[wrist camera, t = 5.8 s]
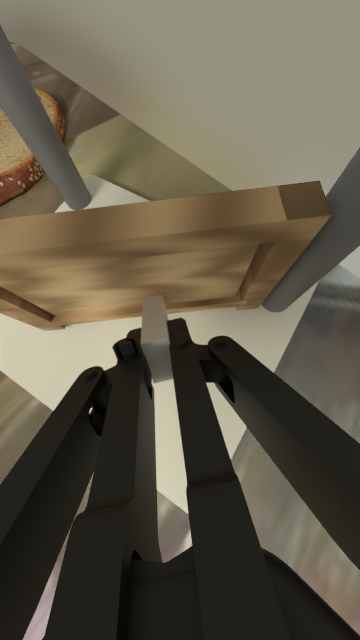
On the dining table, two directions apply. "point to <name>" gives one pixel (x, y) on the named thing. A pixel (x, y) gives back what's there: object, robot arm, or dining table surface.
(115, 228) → the gate
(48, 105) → the slice of bread
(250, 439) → the dining table surface
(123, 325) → the gate frame
